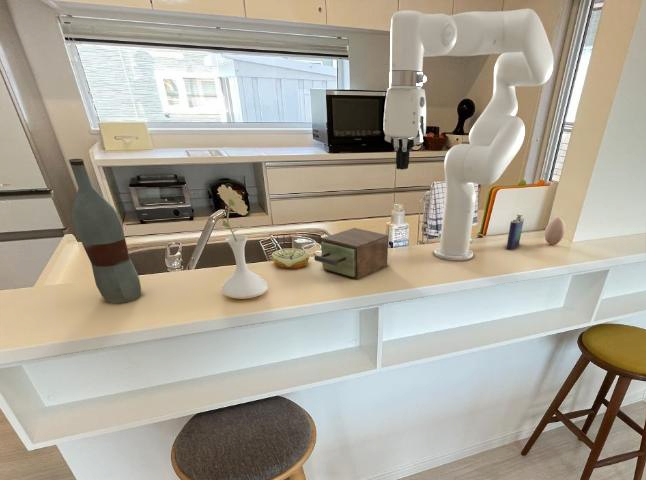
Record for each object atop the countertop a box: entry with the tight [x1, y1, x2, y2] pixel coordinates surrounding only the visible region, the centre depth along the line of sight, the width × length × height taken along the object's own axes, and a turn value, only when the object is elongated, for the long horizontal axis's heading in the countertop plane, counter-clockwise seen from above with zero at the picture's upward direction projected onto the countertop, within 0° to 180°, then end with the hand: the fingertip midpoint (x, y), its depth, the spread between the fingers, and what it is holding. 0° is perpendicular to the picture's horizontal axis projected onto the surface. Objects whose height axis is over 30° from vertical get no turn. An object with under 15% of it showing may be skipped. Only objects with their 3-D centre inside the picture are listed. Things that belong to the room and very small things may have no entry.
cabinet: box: [321, 227, 389, 280], centre depth 122 cm, size 15×13×9 cm
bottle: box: [68, 158, 142, 304], centre depth 94 cm, size 9×9×30 cm
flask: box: [505, 214, 525, 251], centre depth 143 cm, size 9×3×11 cm, turn 147°
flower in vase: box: [217, 184, 269, 300], centre depth 99 cm, size 13×11×25 cm
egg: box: [544, 217, 566, 246], centre depth 147 cm, size 7×7×9 cm
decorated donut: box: [271, 247, 310, 270], centre depth 124 cm, size 10×11×4 cm
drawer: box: [313, 241, 356, 277], centre depth 119 cm, size 19×11×7 cm, turn 145°
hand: (402, 168), depth 108 cm, fingers closed
